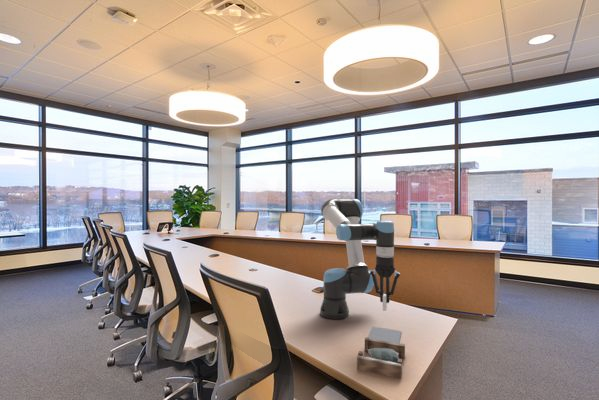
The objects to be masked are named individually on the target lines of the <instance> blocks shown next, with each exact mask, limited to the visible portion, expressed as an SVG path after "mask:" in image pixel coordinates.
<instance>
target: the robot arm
mask: <svg viewBox="0 0 599 400" xmlns="http://www.w3.org/2000/svg"><path fill="white" fill-rule="evenodd" d="M363 211H364V209H363V205H362V203H361V201H360V200H359V199H357V198H330V199H328V200H326V201H325V202H323V204H322V206H321V211H320V212H321V213H320V214H321V215H322V217H323V218H324V219H325V220H327V221H328V222H330V223H331V224H332V226H333V227H334V228H335V234H336V238H337V240H338V241H345V246H346V253H347V262H348V266H347V267H346V268H342V267H335V268H329V269H327V270H325V272H324V273H323V279H322V281H323V299H322V302H321V306H320V308H319V309H320V310H319V313H320V316H322V317H324V318H326V319H329V320H331V319H332V320H341V319H346V318H348V317H349V316H350V309H349V306H348V303H347V294H349V295H350V294H365V293H370V292H371V291H372V290H373V288H374V290H375V293H376V294H378V295H379V300H380V303H382V311H383V312H386V311H387V310H388V304H389V303H390V297H391V296H393V295H394V293H395V290H396V285H397V281H398V278H399V277H400V275H401V272H399V271H397V270H396V269H395V257H394V255H395V226H394V225H395V223H394V222H393V220H377V221H376V223H375V222H373V223H372V222H371V223H370V222H369V223H360V221H361V218H362V217H363V214H364V213H363ZM362 241H376V243H375V246H376V247H375V248H376V249H375V252H376V256H375V258H376V259H375V260H376V261H375V263H376V264H375V267H374V269H369V266H368V264H366V263H365V258H364V251H363V244H362ZM377 275H378V276H379V282H378V279H377ZM392 275H393V276H394V279H393V281H392V286H391V285H390V281H391V280H390V279H391V276H392ZM384 280H385V281H384ZM384 282H385V284H386V285H385V284H384ZM384 285H385V286H384ZM390 287H391V290H390ZM384 288H385V292H384Z"/></svg>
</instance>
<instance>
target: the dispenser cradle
mask: <svg viewBox="0 0 599 400" xmlns="http://www.w3.org/2000/svg"><path fill="white" fill-rule="evenodd" d="M372 348H388V349H393V350H394V351H396V352H397V353H399V355H398V357H400V358H399V359H398V363H394V362H389V361H384V360H379V359H374V358H371V357H370V356H369V357H368V356H363V355H364V354H363V353H364V352H365V353H368V352H369V351H368V350H369V349H372ZM367 349H368V350H367ZM364 352H363V351H360V350H359V351H358V353H357V357H356V369H357V370H359V371H364V372H367V373H368V372H369V373H373V374H378V375H381V376H386V377H387V376H388V377H391V378H396V379H402V377H403V365H402V364H403V360H406V358H405V357H406V344H405V343H399V344H397V343H392V342H386V341H380V340H375V339H369V338H368V336H365V337H364Z"/></svg>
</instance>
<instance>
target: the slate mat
mask: <svg viewBox="0 0 599 400" xmlns="http://www.w3.org/2000/svg"><path fill="white" fill-rule="evenodd" d="M401 335H402V330H398V329H390V328H383V327H379V326H372V327H371V328H370V331H369V333H368V336H367V337H368V338H369V339H375V340H380V341H386V342H392V343H397V344H400V341H401V337H402V336H401Z"/></svg>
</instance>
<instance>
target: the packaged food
mask: <svg viewBox="0 0 599 400" xmlns="http://www.w3.org/2000/svg"><path fill="white" fill-rule="evenodd" d="M367 350H368V349H367ZM367 353H368V355H369V358H374V359H379V360H384V361H389V362H394V363H398V359H400V358H399V356H398V355H399V353H397V352H396V351H394V350H393V349H388V348H372V349H369V350H368V352H367ZM402 366H404V364H403V363H402Z"/></svg>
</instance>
